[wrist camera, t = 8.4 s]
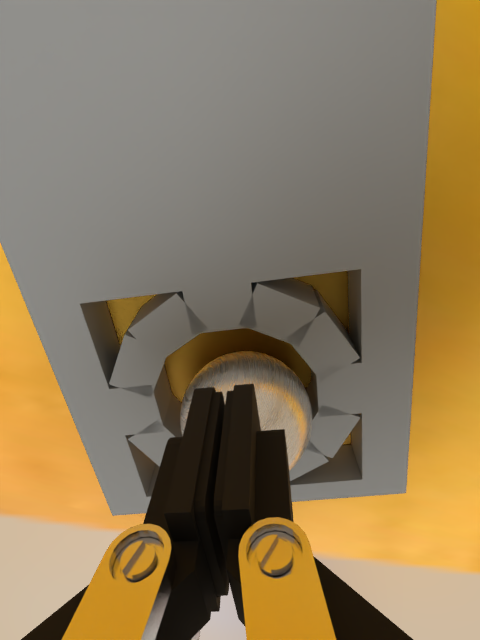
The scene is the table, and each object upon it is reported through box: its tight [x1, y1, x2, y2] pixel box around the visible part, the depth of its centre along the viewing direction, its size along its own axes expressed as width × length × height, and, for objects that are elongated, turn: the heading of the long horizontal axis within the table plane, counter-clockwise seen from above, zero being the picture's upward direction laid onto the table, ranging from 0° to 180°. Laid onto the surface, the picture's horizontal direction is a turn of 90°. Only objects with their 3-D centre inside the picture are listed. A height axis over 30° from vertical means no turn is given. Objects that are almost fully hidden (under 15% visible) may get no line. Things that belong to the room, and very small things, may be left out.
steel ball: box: [180, 351, 312, 471], centre depth 18 cm, size 6×6×6 cm
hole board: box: [0, 0, 436, 516], centre depth 17 cm, size 16×24×2 cm, turn 8°
